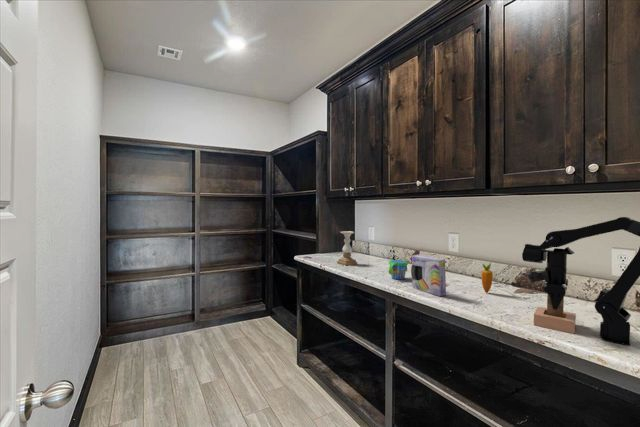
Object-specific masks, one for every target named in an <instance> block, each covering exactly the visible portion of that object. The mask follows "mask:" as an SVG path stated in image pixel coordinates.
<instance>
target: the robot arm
mask: <svg viewBox="0 0 640 427" xmlns="http://www.w3.org/2000/svg"><path fill="white" fill-rule="evenodd" d="M616 231H625V232H628V233H631V234H632V235H635V236H637V237H640V221H638V220H635V219H632V218H630V217H628V216H620V217H618V218H616V219H611V220H608V221H603V222H599V223H595V224H590V225H587V226H582V227H579V228H574V229H573V228H572V229H562V230H553V231H550V232H548V233H547V234H546V236H545V239H544V241H543V242H542V243H541V244H540V245H538V244H532V243H531V244H530V243H525V244H524V248H523V250H522V254H521V255H522V256H521V257H522V261H523V262H529V263H535V264H543V262H546V267H545V268H544V270H537V271H536V270H534V271H530V272H529V273H527V276H528V279H529V282H530V283H532V284H533V283H536V282H541V281H544V284H543V285H542V291H543V292H544V293H546V294H547V293H548V294H549V295H550V299H551V303H552V307H553V309H555V310H557V308H558V306H559V305H560V303H561V301H562V299H563V297H564V298H565V296H566V293H567V289H568V286H569V280H568V278H567V269H568V267H567V263H568V262H567V260H568V259H567V258H568V255H573V254H575V252H574V251H573V250H572V249H570V247H569V246H568V247H565V248H560V247H563V246H566V245H569V244H573V243H575V242H577V241H578V240H582V239H585V238H590V237H594V236H599V235H603V234H607V233H611V232H612V233H613V232H616ZM552 248H553V250H551V249H552ZM639 278H640V246H639V247H638V251H637V252H636V253H635V255H634V256H633V258H632V260H631V261H630V262H629V263H628V265H627V267H626V268H625V269H624V271H623V272H622V274H620V276H619V278H618V279H617V280H616V281H615V283H614V285H613V286H612V288H610V289H608V288H606V287H604V288H603V289H602V290H600V292H599V294H598V296H597V297H596V298H595V299H594V300H593V302H595V303H594V308H595V311H596V312H597V313H598V314H599V315H601V318H602V321H600V324H599V325H600V326H599V329H600V330H599V336H600V337H601V338H602V339H601V340H602V341H607V342H611V343H616V344H621V345H624V346H625V345H626V346H628V347H629V346H630V347H631V341H630V339H631V337H630V336H631V323H630V322H629V320H630V318H631V316H632V315H631V313H629V312H628V311H627V310H626V309H625V308H624V307H623V306H624V303H625V301H626V298H627V295H628V293H629V292H630V291H631V289H632V288H633V286H634V285H635V283H636V282H637V280H638V279H639Z"/></svg>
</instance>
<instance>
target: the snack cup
mask: <svg viewBox="0 0 640 427" xmlns="http://www.w3.org/2000/svg"><path fill="white" fill-rule="evenodd" d="M388 264H389V267H388V274H389V275H390V276H391V279H394V280H405V279H406V274H407V273H406V272H408V264H409V263H408V261H406V260H402V259H401V260H400V259H398V260H397V259H393V260H389V261H388Z"/></svg>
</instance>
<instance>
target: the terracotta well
mask: <svg viewBox="0 0 640 427" xmlns="http://www.w3.org/2000/svg"><path fill="white" fill-rule="evenodd" d="M576 317H577V314H576V313H575V312H569V311H564V310H563V318H561V317H556V316H551V315H547V307H543V306H537V307H536V309H535V311H534V314H533V326H536V327H541V328H546V329H550V330H555V331H560V332H564V333H569V334H575V332H576V323H577V322H576V320H577V319H576Z"/></svg>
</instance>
